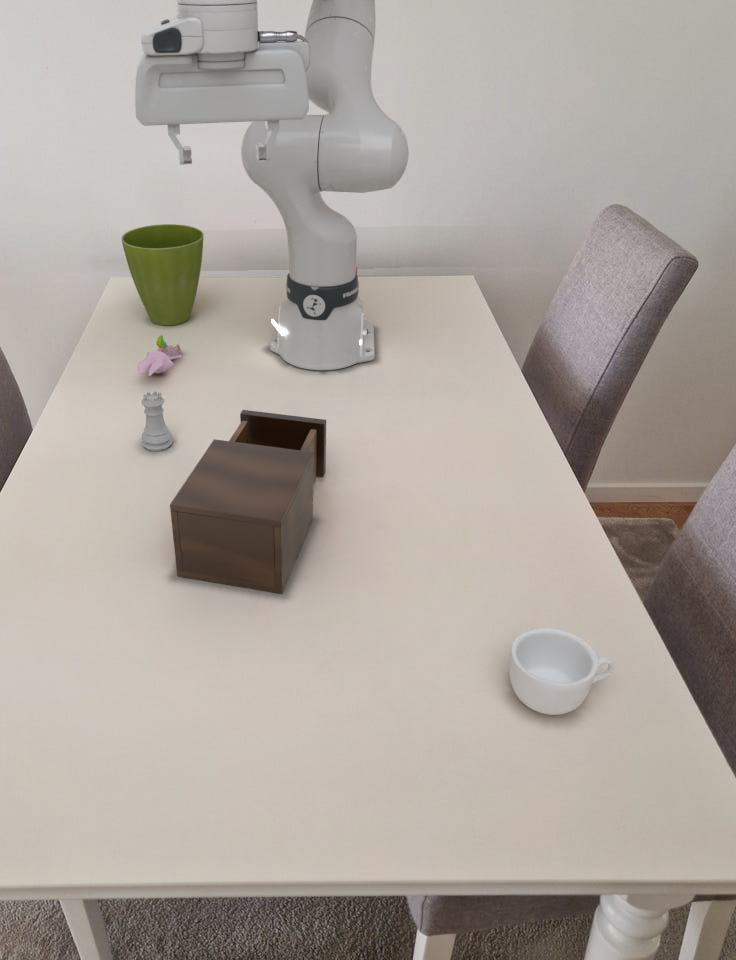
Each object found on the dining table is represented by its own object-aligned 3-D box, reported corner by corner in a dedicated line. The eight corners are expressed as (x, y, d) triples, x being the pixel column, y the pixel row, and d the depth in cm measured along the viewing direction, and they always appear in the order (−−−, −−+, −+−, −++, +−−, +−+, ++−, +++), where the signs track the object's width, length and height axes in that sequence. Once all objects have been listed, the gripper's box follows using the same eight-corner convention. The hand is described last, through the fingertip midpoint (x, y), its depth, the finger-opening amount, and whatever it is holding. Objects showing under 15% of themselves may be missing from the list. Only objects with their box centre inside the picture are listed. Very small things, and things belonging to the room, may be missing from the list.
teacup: (517, 730, 78) (526, 689, 75) (494, 669, 85) (501, 629, 82) (622, 722, 79) (635, 681, 76) (591, 662, 85) (601, 623, 82)
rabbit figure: (156, 359, 150) (126, 383, 137) (154, 326, 148) (124, 347, 134) (190, 361, 149) (164, 386, 136) (189, 328, 147) (162, 350, 133)
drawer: (255, 445, 120) (253, 393, 116) (333, 455, 118) (334, 403, 113) (212, 517, 106) (208, 461, 101) (300, 531, 103) (300, 474, 98)
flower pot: (132, 305, 168) (123, 225, 159) (207, 301, 169) (202, 222, 161) (129, 335, 156) (118, 250, 147) (210, 331, 157) (204, 246, 148)
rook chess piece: (138, 440, 124) (132, 391, 119) (168, 434, 125) (163, 385, 121) (146, 455, 120) (140, 405, 116) (177, 448, 122) (172, 399, 117)
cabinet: (218, 506, 109) (213, 438, 104) (312, 520, 106) (313, 451, 101) (177, 576, 98) (169, 504, 92) (282, 594, 95) (280, 521, 89)
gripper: (305, 27, 98) (305, 152, 106) (127, 32, 96) (140, 159, 103) (315, 32, 93) (314, 163, 101) (127, 37, 90) (141, 171, 98)
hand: (224, 161), depth 102 cm, fingers open, 8 cm apart
